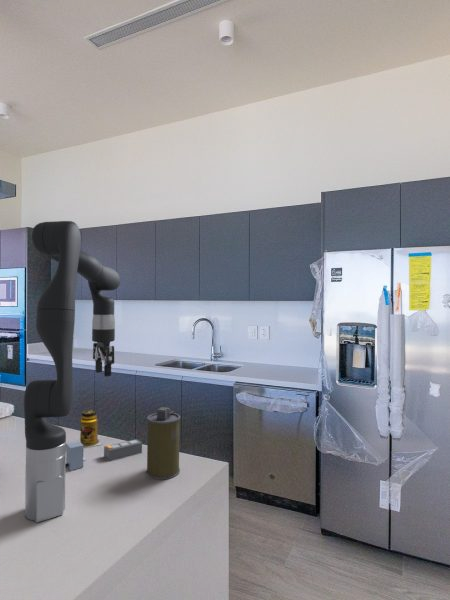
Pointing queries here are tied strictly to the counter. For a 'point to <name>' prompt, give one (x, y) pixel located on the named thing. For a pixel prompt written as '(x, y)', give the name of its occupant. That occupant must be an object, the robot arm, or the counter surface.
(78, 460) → the block
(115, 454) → the strip
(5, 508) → the counter surface
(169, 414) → the canister
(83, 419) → the condiment
